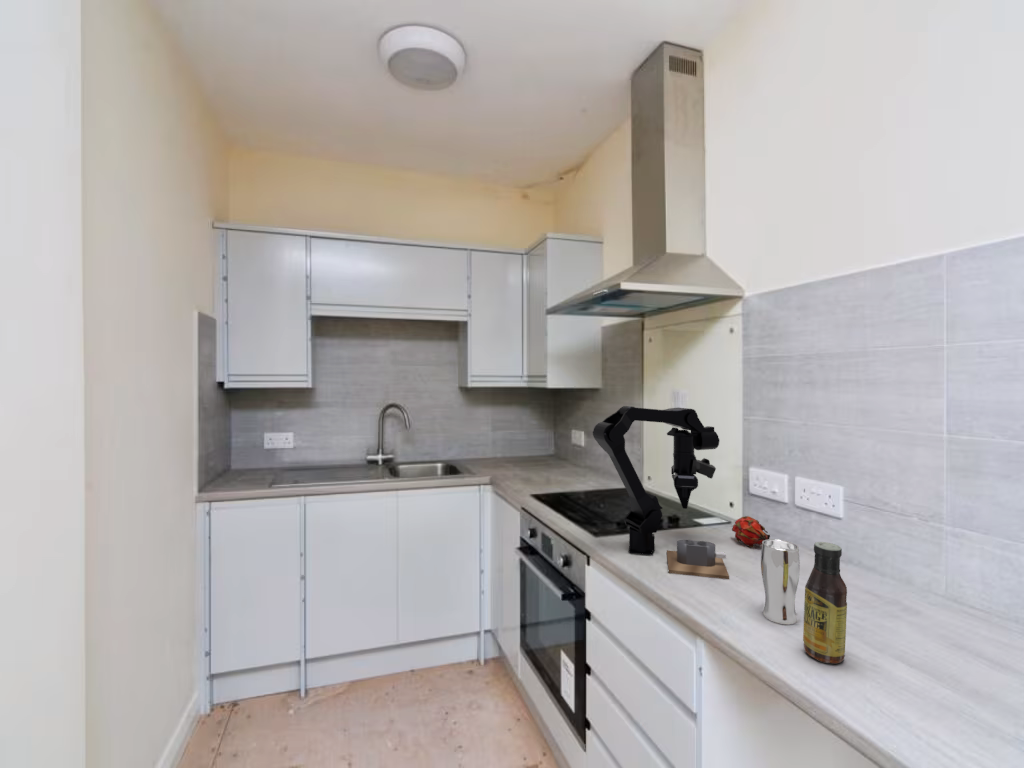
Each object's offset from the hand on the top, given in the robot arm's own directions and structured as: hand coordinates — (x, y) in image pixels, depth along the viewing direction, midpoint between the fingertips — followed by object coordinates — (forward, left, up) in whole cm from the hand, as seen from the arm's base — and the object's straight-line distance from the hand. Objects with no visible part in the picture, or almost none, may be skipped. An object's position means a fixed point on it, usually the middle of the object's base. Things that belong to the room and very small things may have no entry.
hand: (683, 504), depth 140 cm
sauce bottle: (+20, -52, -12) cm, 57 cm away
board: (+2, -15, -12) cm, 19 cm away
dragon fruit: (+19, +6, -12) cm, 23 cm away
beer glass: (+16, -39, -12) cm, 44 cm away
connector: (+3, -15, -11) cm, 19 cm away
